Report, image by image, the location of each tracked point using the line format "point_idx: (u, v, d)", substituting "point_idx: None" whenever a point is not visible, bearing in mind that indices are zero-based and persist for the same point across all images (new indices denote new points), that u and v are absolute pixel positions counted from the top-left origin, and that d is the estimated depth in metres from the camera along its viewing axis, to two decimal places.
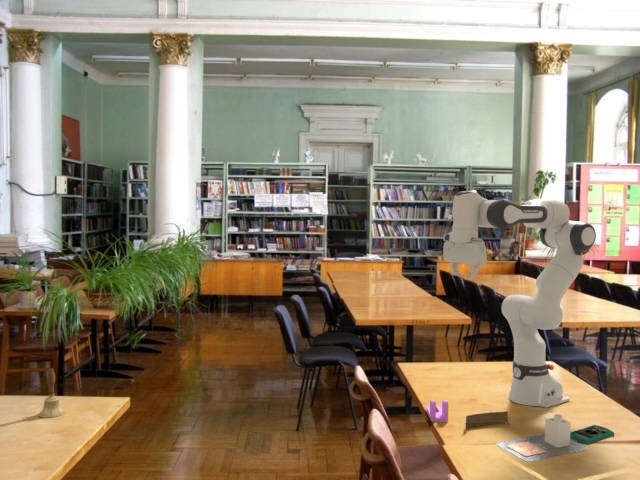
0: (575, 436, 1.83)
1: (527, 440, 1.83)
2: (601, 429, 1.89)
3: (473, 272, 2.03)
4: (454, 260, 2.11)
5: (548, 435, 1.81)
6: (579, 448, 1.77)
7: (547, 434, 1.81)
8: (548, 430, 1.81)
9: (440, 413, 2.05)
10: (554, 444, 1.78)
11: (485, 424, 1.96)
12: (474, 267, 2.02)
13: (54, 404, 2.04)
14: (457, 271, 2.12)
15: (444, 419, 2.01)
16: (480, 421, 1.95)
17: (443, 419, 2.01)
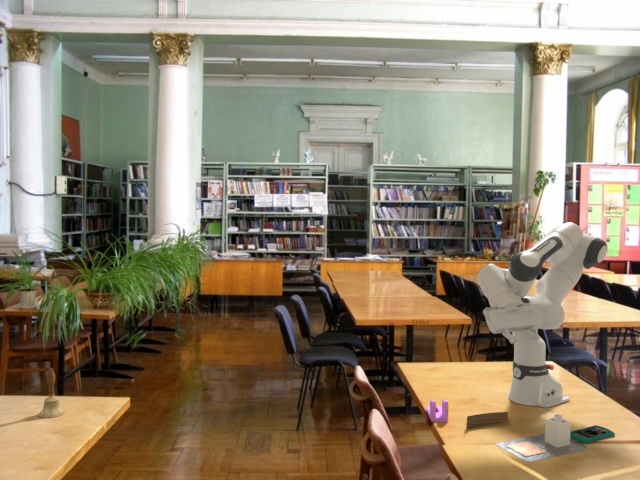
0: (574, 436, 1.84)
1: (527, 440, 1.83)
2: (602, 429, 1.89)
3: (508, 338, 1.92)
4: None
5: (548, 435, 1.81)
6: (579, 448, 1.77)
7: (547, 434, 1.81)
8: (548, 430, 1.81)
9: (440, 413, 2.05)
10: (554, 444, 1.78)
11: (486, 424, 1.95)
12: (503, 333, 1.92)
13: (54, 404, 2.04)
14: (533, 336, 1.95)
15: (444, 419, 2.01)
16: (481, 421, 1.95)
17: (443, 419, 2.01)
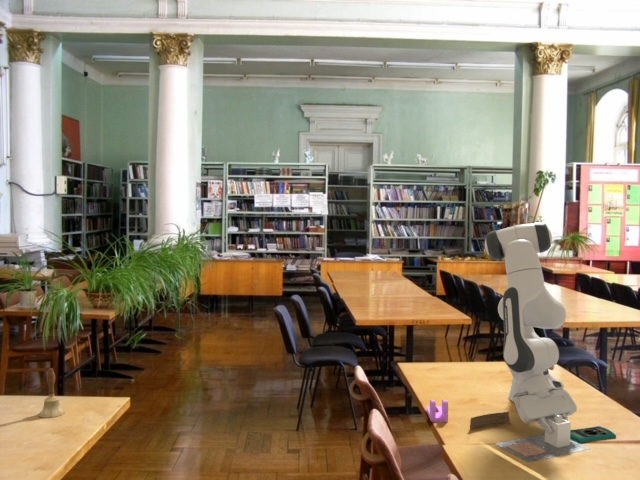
0: (570, 434, 1.85)
1: (527, 440, 1.83)
2: (603, 431, 1.88)
3: (544, 427, 1.80)
4: None
5: (548, 435, 1.81)
6: (579, 448, 1.77)
7: (547, 434, 1.81)
8: None
9: (440, 413, 2.05)
10: (554, 444, 1.78)
11: (488, 425, 1.95)
12: (539, 422, 1.81)
13: (54, 404, 2.04)
14: None
15: (444, 419, 2.01)
16: (483, 422, 1.94)
17: (442, 419, 2.01)
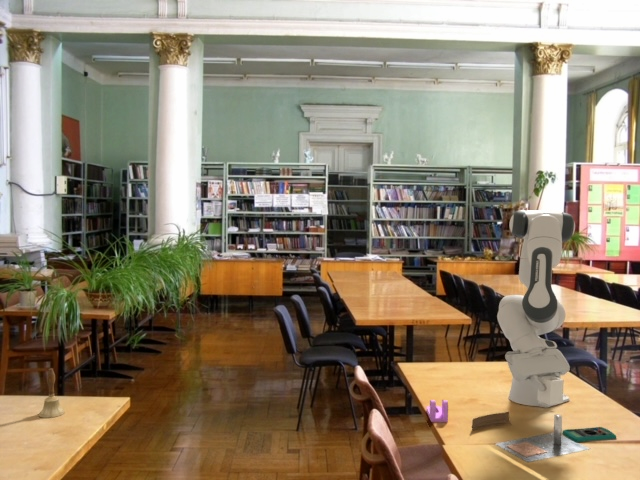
0: (568, 433, 1.86)
1: (527, 440, 1.83)
2: (604, 431, 1.88)
3: (537, 385, 1.77)
4: None
5: (541, 393, 1.78)
6: (579, 448, 1.77)
7: (539, 392, 1.79)
8: None
9: (440, 413, 2.05)
10: (547, 402, 1.76)
11: (489, 426, 1.94)
12: (531, 380, 1.78)
13: (54, 404, 2.04)
14: None
15: (444, 419, 2.01)
16: (484, 423, 1.93)
17: (443, 420, 2.01)
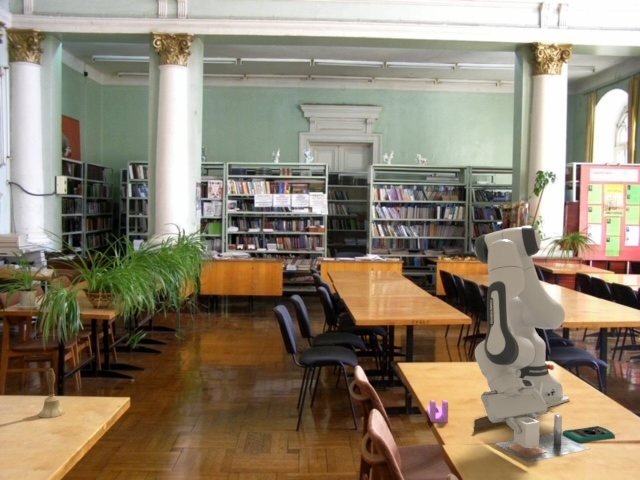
0: (569, 434, 1.85)
1: None
2: (602, 430, 1.88)
3: (512, 427, 1.75)
4: None
5: (517, 435, 1.76)
6: (579, 448, 1.77)
7: (515, 434, 1.76)
8: None
9: (440, 413, 2.05)
10: (522, 444, 1.73)
11: (490, 426, 1.94)
12: (507, 422, 1.76)
13: (54, 404, 2.04)
14: None
15: (444, 419, 2.00)
16: (486, 423, 1.93)
17: (443, 420, 2.00)
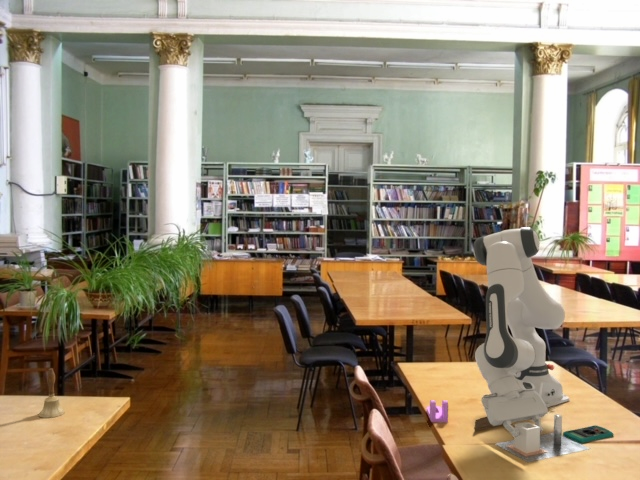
0: (570, 435, 1.84)
1: None
2: (601, 430, 1.89)
3: (510, 430, 1.75)
4: None
5: (517, 440, 1.76)
6: (579, 448, 1.77)
7: (516, 440, 1.76)
8: None
9: (440, 413, 2.05)
10: (523, 450, 1.74)
11: (491, 426, 1.94)
12: (504, 425, 1.75)
13: (54, 404, 2.04)
14: None
15: (444, 419, 2.00)
16: (486, 424, 1.93)
17: (443, 420, 2.00)
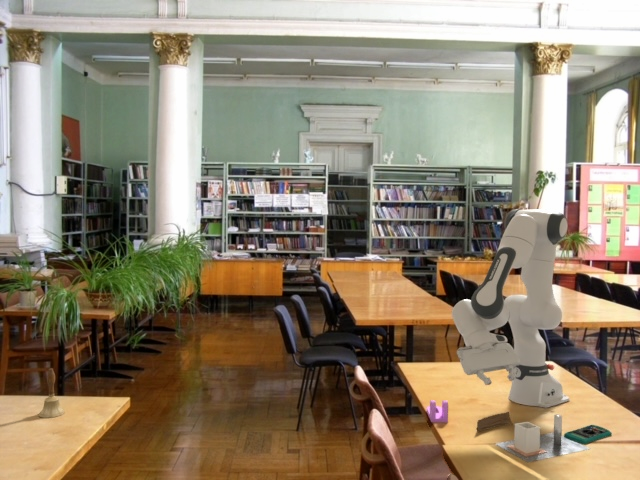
0: (572, 436, 1.84)
1: None
2: (598, 429, 1.89)
3: (482, 379, 1.87)
4: None
5: (517, 440, 1.76)
6: (579, 448, 1.77)
7: (516, 440, 1.76)
8: (517, 435, 1.76)
9: (440, 414, 2.05)
10: (523, 450, 1.74)
11: (492, 427, 1.93)
12: (477, 375, 1.88)
13: (54, 404, 2.04)
14: (509, 376, 1.90)
15: (444, 420, 2.00)
16: (488, 424, 1.92)
17: (443, 420, 2.00)
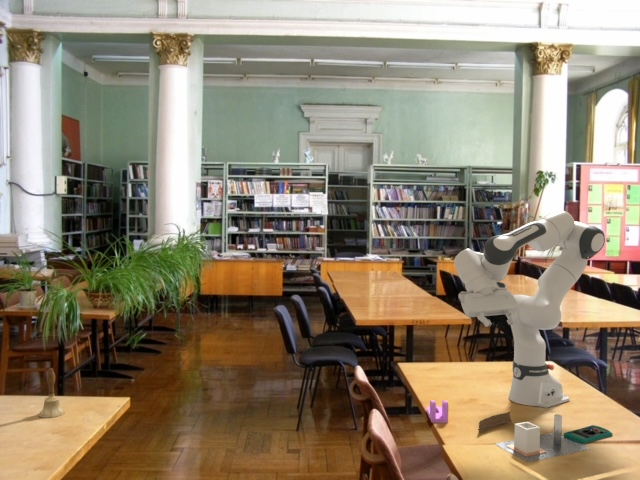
0: (572, 436, 1.84)
1: None
2: (599, 429, 1.89)
3: (483, 321, 1.92)
4: None
5: (517, 440, 1.76)
6: (579, 448, 1.77)
7: (516, 440, 1.76)
8: (517, 435, 1.76)
9: (440, 414, 2.05)
10: (523, 450, 1.74)
11: (493, 427, 1.93)
12: (478, 317, 1.93)
13: (54, 404, 2.04)
14: (508, 320, 1.95)
15: (444, 420, 2.00)
16: (489, 424, 1.92)
17: (443, 420, 2.00)
